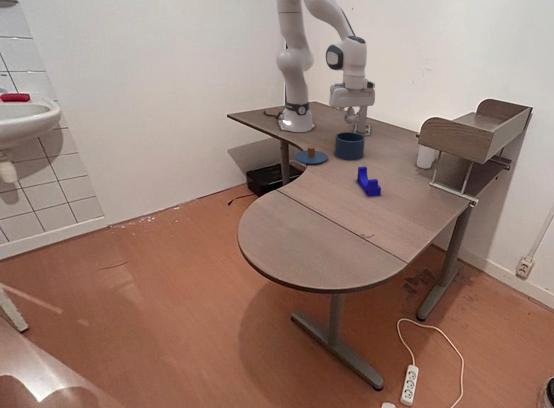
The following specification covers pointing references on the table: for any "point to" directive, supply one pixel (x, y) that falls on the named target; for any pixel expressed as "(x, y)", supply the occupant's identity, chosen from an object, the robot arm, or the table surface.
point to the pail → (349, 146)
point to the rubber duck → (351, 116)
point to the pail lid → (311, 156)
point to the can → (425, 157)
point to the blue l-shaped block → (368, 183)
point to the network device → (362, 123)
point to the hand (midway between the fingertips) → (351, 117)
